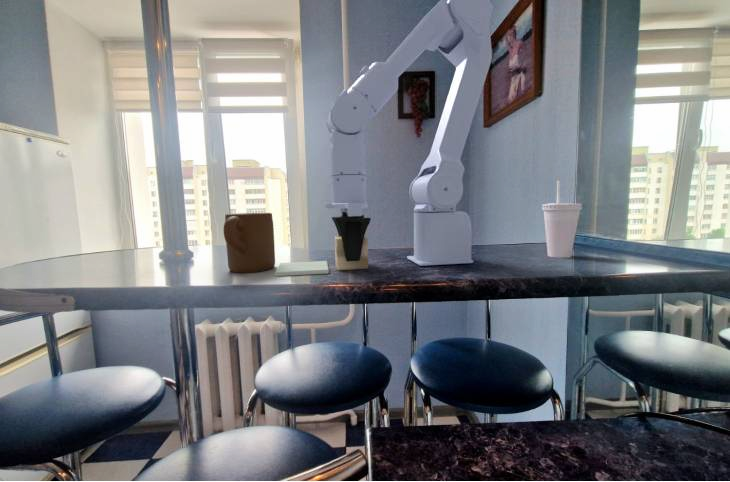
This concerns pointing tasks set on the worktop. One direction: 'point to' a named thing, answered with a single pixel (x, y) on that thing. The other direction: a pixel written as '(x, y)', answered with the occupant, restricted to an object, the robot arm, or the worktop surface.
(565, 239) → the smoothie
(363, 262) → the oak block
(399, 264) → the worktop surface
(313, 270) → the coaster
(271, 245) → the mug
